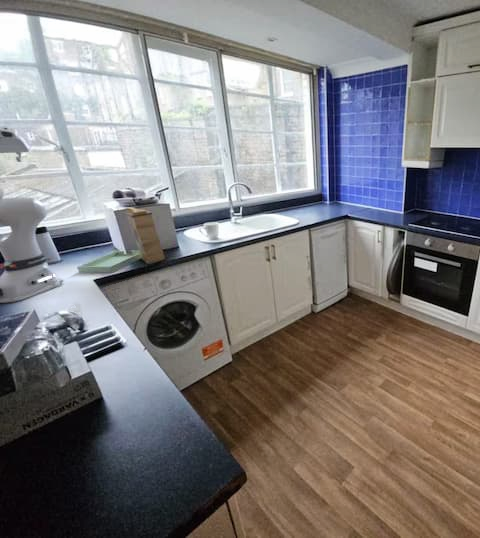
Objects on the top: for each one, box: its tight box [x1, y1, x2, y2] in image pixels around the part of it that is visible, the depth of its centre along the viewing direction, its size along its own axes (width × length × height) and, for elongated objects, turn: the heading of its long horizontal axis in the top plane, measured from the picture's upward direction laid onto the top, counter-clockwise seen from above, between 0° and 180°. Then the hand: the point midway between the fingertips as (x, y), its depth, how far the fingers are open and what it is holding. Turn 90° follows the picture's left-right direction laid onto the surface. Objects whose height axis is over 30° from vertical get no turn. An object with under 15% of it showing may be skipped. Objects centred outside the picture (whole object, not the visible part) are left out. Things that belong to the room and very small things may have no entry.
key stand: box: [125, 210, 166, 265], centre depth 155 cm, size 11×9×26 cm
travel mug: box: [35, 225, 62, 265], centre depth 157 cm, size 6×7×20 cm
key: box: [125, 206, 148, 215], centre depth 153 cm, size 18×5×1 cm, turn 51°
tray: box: [76, 250, 142, 273], centre depth 156 cm, size 24×18×3 cm
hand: (5, 161), depth 140 cm, fingers open, 8 cm apart
